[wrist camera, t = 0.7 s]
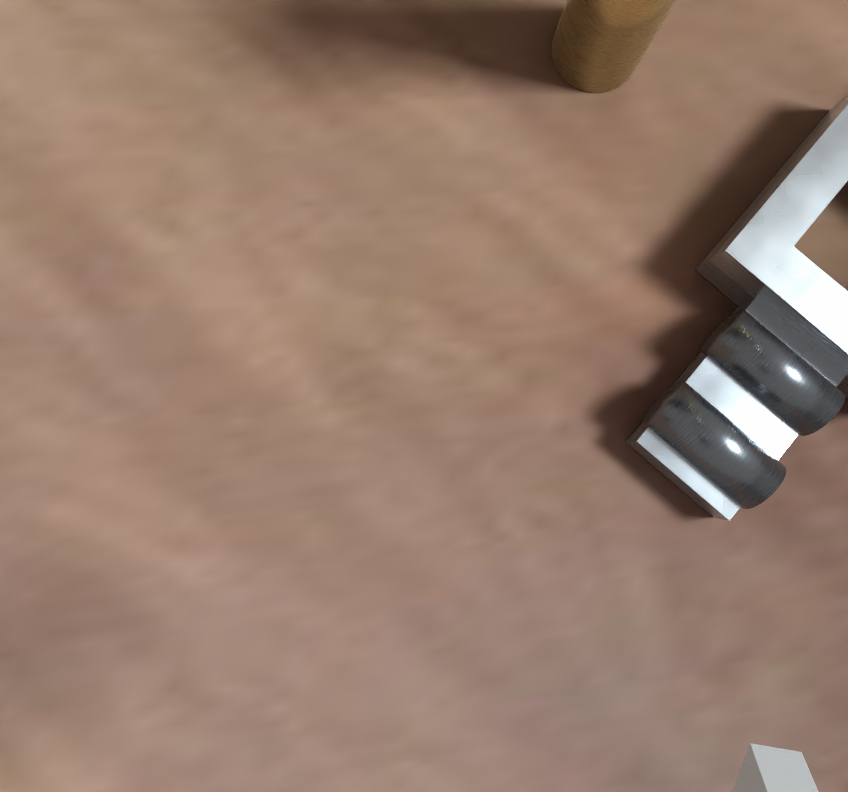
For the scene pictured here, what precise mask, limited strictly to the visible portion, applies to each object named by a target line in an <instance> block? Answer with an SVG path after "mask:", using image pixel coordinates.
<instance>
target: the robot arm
mask: <svg viewBox="0 0 848 792" xmlns="http://www.w3.org/2000/svg"><path fill="white" fill-rule="evenodd" d="M732 792H818V790H817V787H816V785H815V783H814V780H813V778H812V776H811V773H810V771H809V769H808V766H807V764H806V762H805V759H804V757H803V755H802V752H798V751H792V750H786V749H780V748H774V747H768V746H762V745H757V744H751V743H750V746H749V748H748V751H747V754H746V756H745V759H744V762H743V765H742V767H741V770H740V773H739V775H738V778H737V781H736V783H735V786H734V789H733V791H732Z"/></svg>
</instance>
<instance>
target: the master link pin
mask: <svg viewBox="0 0 848 792" xmlns="http://www.w3.org/2000/svg"><path fill="white" fill-rule="evenodd" d="M675 1H676V0H567V1H566V4H565V6H564V9H563V12H562V15H561V17H560V20H559V23H558V26H557V28H556V31H555V34H554V37H553V40H552V46H551V53H552V59H553V62H554V65H555V67H556V69H557V71H558V73H559V74H560V76H561V77H562V78H563V79H564V80H565V81H566V82H567V83H569V84H570V85H572V86H573V87H575V88H577V89H579V90H582V91H585V92H591V93H602V92H607V91H611V90H613V89H615V88H617V87H619V86H621V85H622V84H623V83H624V82H626V81H627V80H628V78H629V77H630V76H631V74H632V73H633V71H634V70H635V68H636V66H637V65H638V63H639V61H640V60H641V58H642V56H643V55H644V53H645V51H646V50H647V48H648V46H649V45H650V43H651V41H652V40H653V38H654V36H655V35H656V33H657V31H658V30H659V28H660V26H661V25H662V23H663V21H664V20H665V18H666V16H667V15H668V13H669V11H670V10H671V8H672V6H673V5H674V3H675Z"/></svg>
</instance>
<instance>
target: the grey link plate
mask: <svg viewBox="0 0 848 792" xmlns="http://www.w3.org/2000/svg"><path fill="white" fill-rule="evenodd" d="M847 181H848V95H847V96H846V97H845V98H844V99H842V100H841V101H840V102H839V103H838V104H836V105H835V106H834V107H833V108H831V109H830V110H829V112H828V113H827V114H826V115H825V116H824V117H823V119H822V120H821V121H820V122H819V123H818V125H817V126H816V127H815V128H814V129H813V131H812V132H811V133H810V134H809V135H808V136H807V138H806V139H805V140H804V141H803V142H802V144H801V145H800V146H799V147H798V148H797V150H796V151H795V152H794V153H793V154H792V156H791V157H790V158H789V159H788V160H787V161H786V163H785V164H784V165H783V166H782V167H781V169H780V170H779V171H778V172H777V173H776V175H775V176H774V177H773V178H772V179H771V180H770V182H769V183H768V184H767V185H766V186H765V188H764V189H763V190H762V191H761V192H760V194H759V195H758V196H757V197H756V198H755V199H754V201H753V202H752V203H751V204H750V205H749V207H748V208H747V209H746V210H745V211H744V213H743V214H742V215H741V216H740V217H739V218H738V220H737V221H736V222H735V223H734V224H733V226H732V227H731V228H730V229H729V230H728V232H727V233H726V234H725V235H724V236H723V237H722V239H721V240H720V241H719V242H718V243H717V245H716V246H715V247H714V248H713V249H712V251H711V252H710V253H709V254H708V255H707V256H706V258H705V259H704V260H703V261H702V262H701V264H700V265H699V266H698V267H697V268H696V271H697V272H698V273H700V274H701V275H702V276H703V277H704V278H706V279H707V280H708V281H709V282H710V283H711V284H713V285H714V286H715V287H716V288H717V289H719V290H720V291H721V292H722V293H723V294H725V295H726V296H727V297H728V298H729V299H730V300H732V301H733V302H734V303H735V304H736V305H738V307H737V308H736V310H735V311H734V312H733V313H732V314H731V315H730V316H729V317H728V318H727V319H726V320H725V321H723V322H722V323H721V324H720V325H719V326H718V327H717V328H716V329H715V330H714V331H713V333H712V334H711V335H710V336H709V337H708V339H707V340H706V341H705V343H704V344H703V346H702V348H701V352H700V353H699V354H698V355H697V357H696V358H695V359H694V360H693V361H692V363H691V364H690V365H689V366H688V367H687V369H686V370H685V371H684V372H683V373H682V375H681V376H680V377H679V378H678V379H677V381H676V382H675V383H674V384H673V385H672V386H671V387H670V388H668V389H667V390H666V391H665V392H664V393H663V394H662V395H661V396H660V397H659V398H658V399H657V400H656V401H655V402H654V404H653V405H652V406H651V407H650V409H649V410H648V411H647V413H646V415H645V416H644V419H643V422H642V423H641V424H640V425H639V426H638V428H637V429H636V430H635V431H634V433H633V434H632V435H631V436H630V437H629V439H628V440H627V441H626V443H627V444H628V445H630V446H631V447H632V448H633V449H634V450H635V451H637V452H638V453H639V454H640V455H641V456H642V457H644V458H645V459H646V460H647V461H648V462H649V463H651V464H652V465H653V466H654V467H655V468H656V469H658V470H659V471H660V472H661V473H662V474H663V475H665V476H666V477H667V478H668V479H669V480H670V481H672V482H673V483H674V484H675V485H676V486H677V487H679V488H680V489H681V490H682V491H683V492H684V493H686V494H687V495H688V496H689V497H690V498H691V499H693V500H694V501H695V502H696V503H697V504H698V505H700V506H701V507H702V508H703V509H704V510H705V511H707V512H708V513H709V514H710V515H711V516H712V517H714V518H718V519H724V520H730V519H731V518H732V517H733V515H734V514H735V513H736V512H737V511H738V509H739V508H740V507H742V508H744V509H750V508H753V507H755V506H757V505H759V504H761V503H762V502H764V501H765V500H766V499H767V498H769V497H770V496H771V495H772V494H773V493H774V492H775V491H776V489H777V488H778V487H779V486H780V484H781V483H782V481H783V479H784V477H785V474H786V468H785V466H784V465H783V464H781V463H780V462H779V461H778V459H779V458H780V457H781V456H782V454H783V453H784V452H785V451H786V449H787V448H788V447H789V446H790V444H791V443H792V442H793V441H794V440H795V438H796V437H797V436H798V435H801V436H806V435H809V434H812V433H814V432H816V431H817V430H819V429H821V428H822V427H823V426H825V425H826V424H827V423H828V422H829V421H831V420H832V419H833V418H834V417H835V415H836V414H837V413H838V412H839V411H840V409H841V408H842V406H843V404H844V402H845V398H846V397H847V398H848V291H846V290H845V289H844V288H843V287H842V286H840V285H839V284H838V283H837V282H836V281H834V280H833V279H832V278H831V277H830V276H828V275H827V274H826V273H825V272H824V271H822V270H821V269H820V268H819V267H818V266H816V265H815V264H814V263H813V262H812V261H811V260H809V259H808V258H807V257H806V256H805V255H803V254H802V253H801V252H800V251H799V250H797V249H796V248H795V247H794V245H795V244H796V242H797V241H798V240H799V239H800V238H801V236H802V235H803V234H804V233H805V232H806V230H807V229H808V228H809V227H810V226H811V224H812V223H813V222H814V221H815V219H816V218H817V217H818V216H819V215H820V213H821V212H822V211H823V210H824V209H825V207H826V206H827V205H828V204H829V203H830V201H831V200H832V199H833V198H834V197H835V195H836V194H837V193H838V192H839V191H840V189H841V188H842V187H843V186H844V184H845V183H846V182H847ZM845 396H846V397H845Z"/></svg>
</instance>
